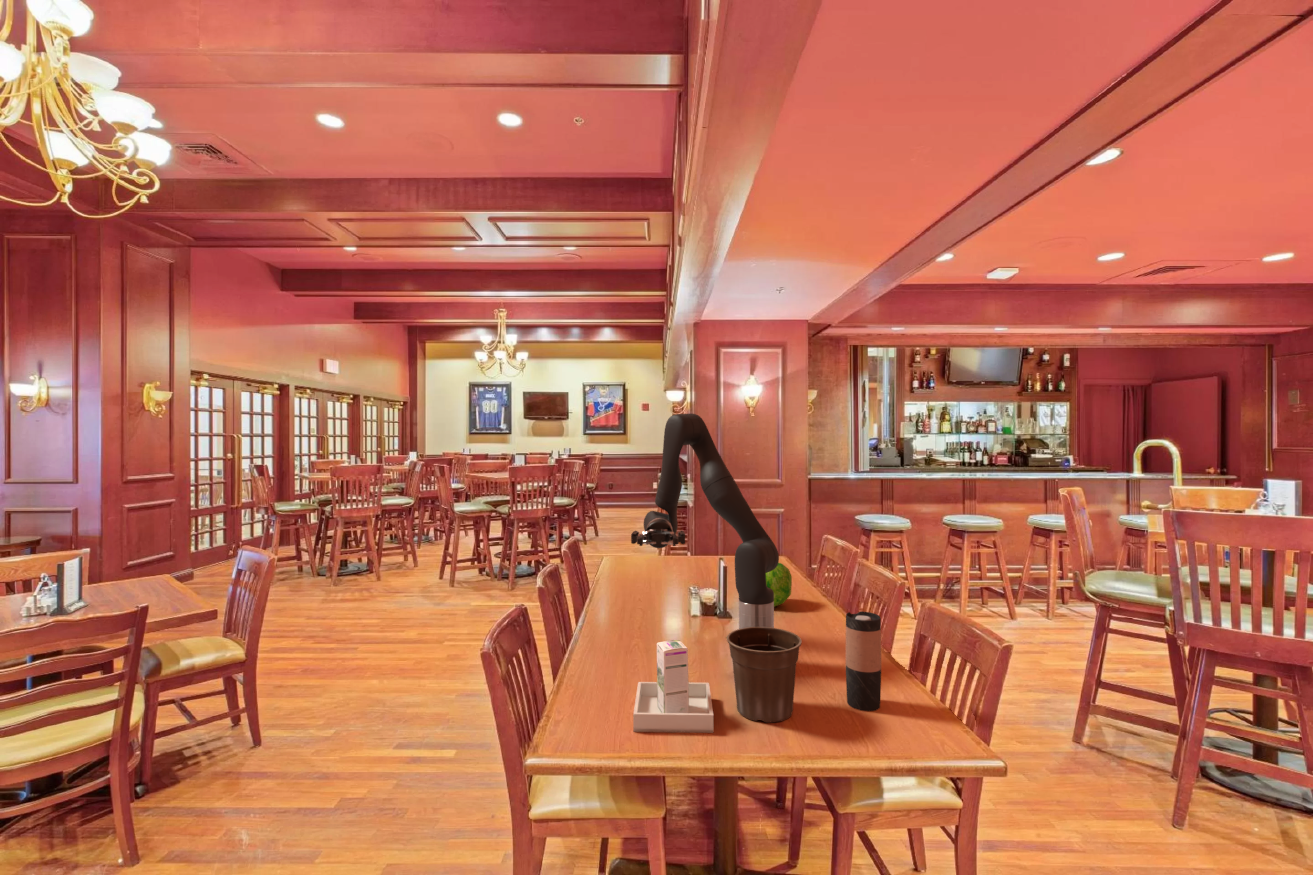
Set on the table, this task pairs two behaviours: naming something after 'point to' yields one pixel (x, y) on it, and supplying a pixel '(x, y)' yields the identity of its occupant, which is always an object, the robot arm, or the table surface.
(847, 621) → the travel mug
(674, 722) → the tray
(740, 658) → the plant pot
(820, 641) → the table surface
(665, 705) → the syrup box
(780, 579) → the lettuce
